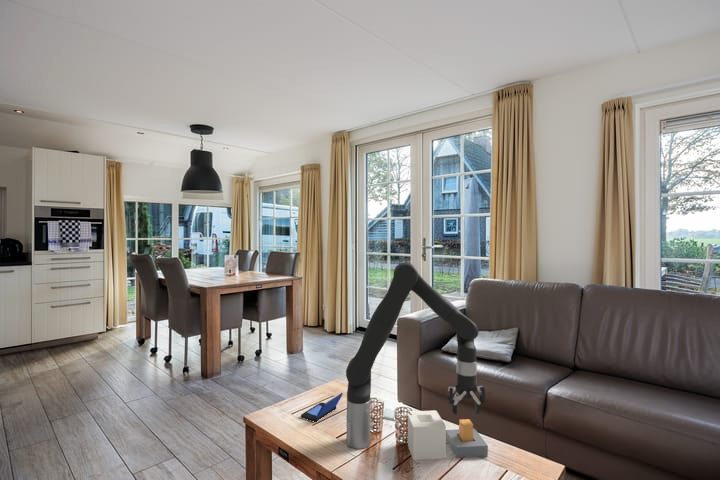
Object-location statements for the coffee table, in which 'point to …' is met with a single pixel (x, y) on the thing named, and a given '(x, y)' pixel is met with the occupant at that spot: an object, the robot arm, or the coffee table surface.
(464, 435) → the plug
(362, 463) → the coffee table surface
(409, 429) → the upper stand
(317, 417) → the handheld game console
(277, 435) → the coffee table surface
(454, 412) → the robot arm
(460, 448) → the lower base
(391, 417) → the hard drive
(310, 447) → the coffee table surface
